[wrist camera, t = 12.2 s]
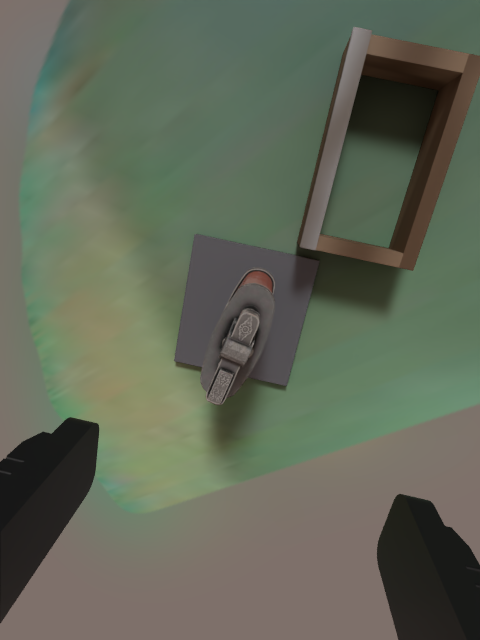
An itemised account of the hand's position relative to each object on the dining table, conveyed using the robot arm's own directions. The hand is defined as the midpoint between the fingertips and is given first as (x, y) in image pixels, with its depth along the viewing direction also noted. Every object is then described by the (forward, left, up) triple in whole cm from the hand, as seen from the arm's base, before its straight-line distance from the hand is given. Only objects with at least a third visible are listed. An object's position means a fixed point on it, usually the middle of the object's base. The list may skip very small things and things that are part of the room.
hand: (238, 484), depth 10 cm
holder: (-6, -11, -22) cm, 26 cm away
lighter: (+1, +2, -22) cm, 22 cm away
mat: (+1, +2, -22) cm, 22 cm away
